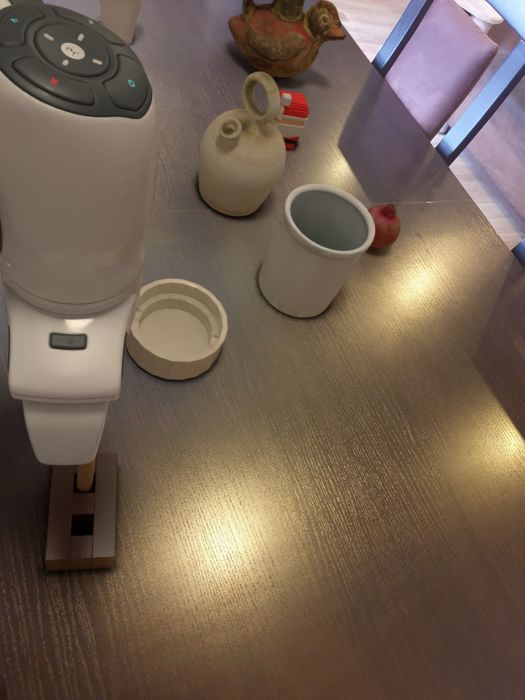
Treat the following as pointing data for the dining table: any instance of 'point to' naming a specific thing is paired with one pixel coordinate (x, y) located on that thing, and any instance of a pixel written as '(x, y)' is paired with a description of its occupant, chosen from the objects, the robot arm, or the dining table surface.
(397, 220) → the fruit
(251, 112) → the jug
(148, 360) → the bowl
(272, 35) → the ceramic vessel
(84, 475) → the stir stick
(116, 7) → the foam cup
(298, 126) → the figurine
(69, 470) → the stick stand
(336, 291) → the utensil holder
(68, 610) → the dining table surface
